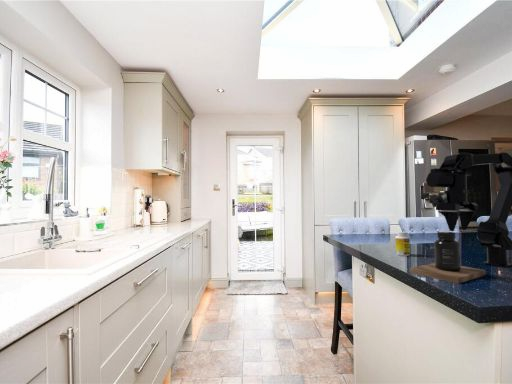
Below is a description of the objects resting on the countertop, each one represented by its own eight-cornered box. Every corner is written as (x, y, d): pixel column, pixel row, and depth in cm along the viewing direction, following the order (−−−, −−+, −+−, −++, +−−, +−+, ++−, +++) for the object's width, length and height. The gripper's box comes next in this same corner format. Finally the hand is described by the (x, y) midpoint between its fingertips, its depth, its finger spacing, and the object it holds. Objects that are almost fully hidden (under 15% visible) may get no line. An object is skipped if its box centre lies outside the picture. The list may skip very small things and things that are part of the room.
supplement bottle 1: (405, 256, 116) (405, 232, 116) (393, 254, 120) (392, 231, 121) (412, 255, 119) (411, 232, 119) (400, 253, 124) (399, 231, 124)
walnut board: (438, 266, 99) (438, 262, 99) (485, 274, 87) (485, 270, 87) (409, 272, 90) (409, 268, 90) (458, 283, 78) (457, 278, 78)
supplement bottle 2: (465, 270, 87) (463, 232, 87) (453, 272, 84) (452, 233, 84) (442, 265, 93) (441, 230, 93) (430, 268, 90) (429, 231, 90)
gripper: (445, 189, 111) (446, 227, 110) (420, 187, 102) (421, 229, 101) (478, 188, 101) (479, 230, 101) (454, 186, 92) (455, 232, 91)
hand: (457, 230), depth 99 cm, fingers open, 9 cm apart
